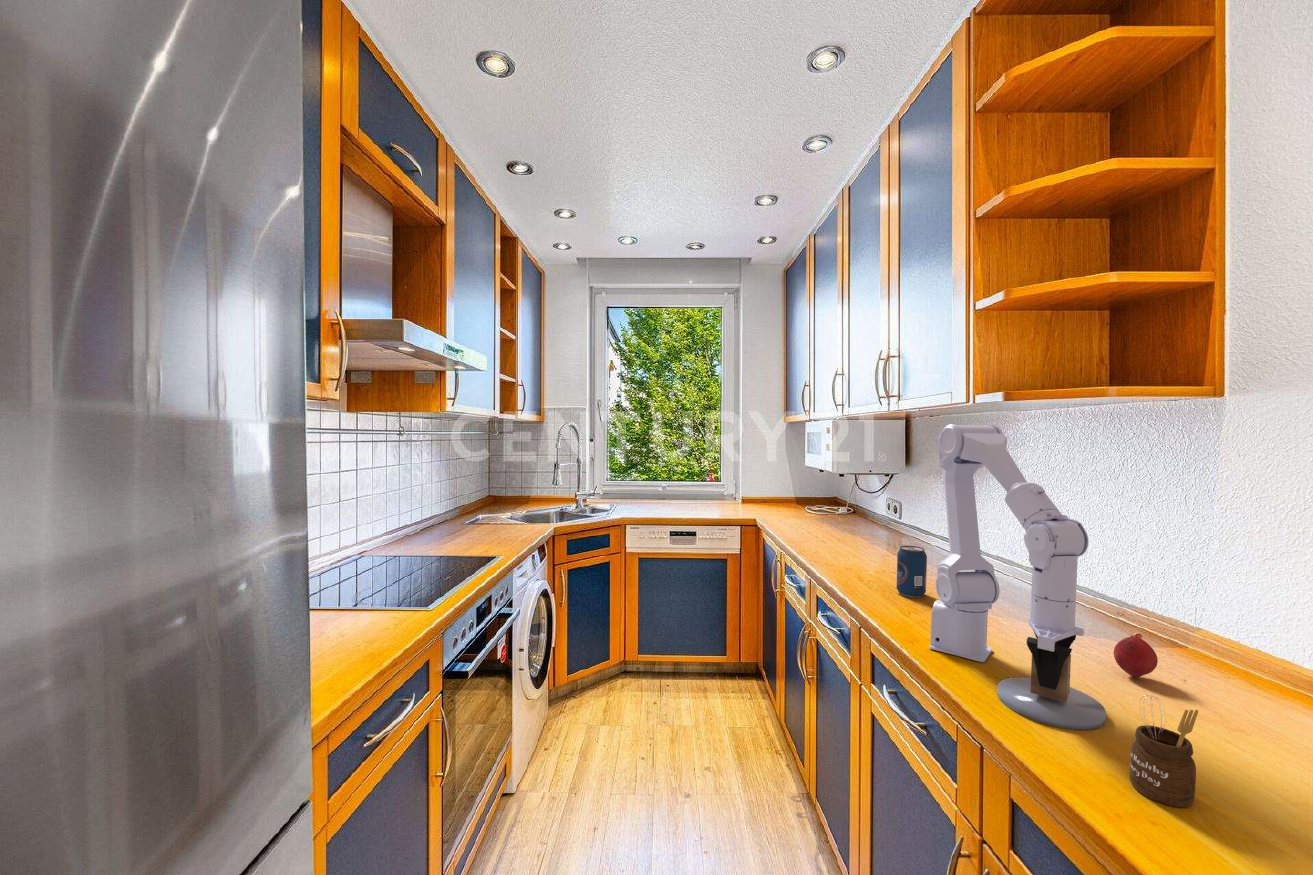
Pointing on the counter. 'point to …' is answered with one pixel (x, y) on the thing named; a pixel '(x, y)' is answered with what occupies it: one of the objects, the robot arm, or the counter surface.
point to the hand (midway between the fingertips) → (1050, 681)
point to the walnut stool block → (1062, 687)
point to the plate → (1052, 706)
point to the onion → (1135, 656)
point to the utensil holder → (1164, 762)
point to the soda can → (911, 571)
